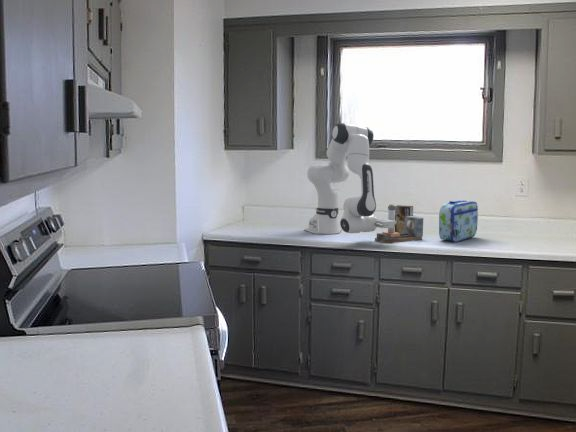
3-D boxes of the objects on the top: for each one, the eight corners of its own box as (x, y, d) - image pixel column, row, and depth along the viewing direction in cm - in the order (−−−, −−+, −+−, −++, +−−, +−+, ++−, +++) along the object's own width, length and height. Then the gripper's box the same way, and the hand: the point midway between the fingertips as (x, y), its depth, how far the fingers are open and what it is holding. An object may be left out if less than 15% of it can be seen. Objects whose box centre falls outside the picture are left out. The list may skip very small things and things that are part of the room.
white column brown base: (382, 235, 330) (382, 204, 327) (390, 234, 333) (391, 203, 330) (391, 237, 324) (391, 205, 321) (399, 236, 327) (400, 204, 325)
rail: (374, 240, 329) (374, 218, 327) (409, 236, 342) (410, 215, 341) (386, 243, 321) (387, 221, 319) (422, 239, 334) (423, 217, 332)
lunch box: (453, 243, 321) (455, 203, 318) (435, 241, 329) (437, 201, 326) (479, 237, 339) (481, 199, 336) (461, 235, 347) (463, 197, 344)
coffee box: (413, 234, 350) (414, 205, 348) (409, 236, 344) (410, 207, 342) (397, 233, 354) (398, 204, 352) (393, 234, 348) (394, 206, 346)
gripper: (382, 219, 310) (403, 217, 317) (356, 214, 327) (376, 212, 334) (382, 231, 311) (402, 229, 318) (356, 226, 328) (376, 224, 335)
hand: (389, 221), depth 326 cm, fingers open, 8 cm apart
